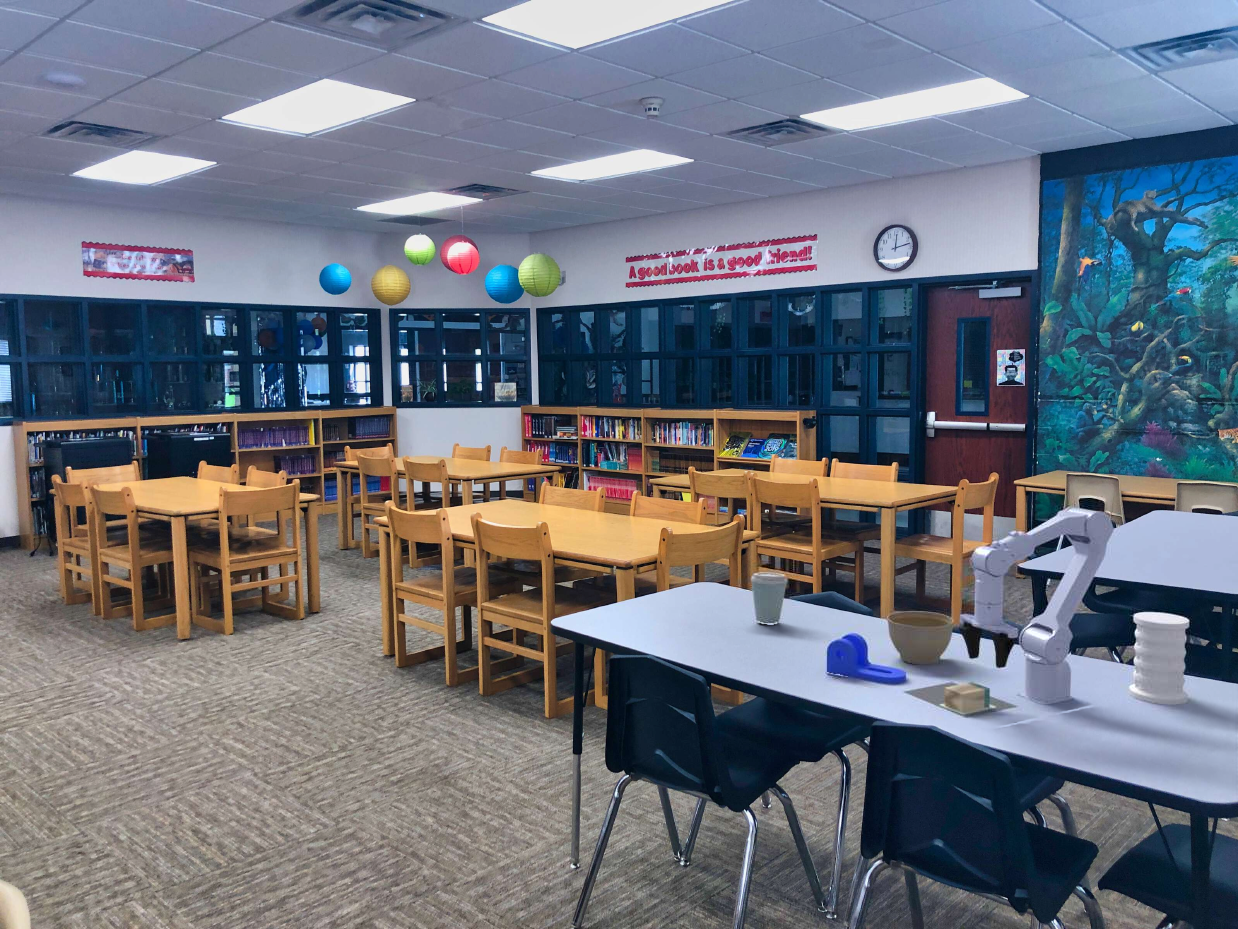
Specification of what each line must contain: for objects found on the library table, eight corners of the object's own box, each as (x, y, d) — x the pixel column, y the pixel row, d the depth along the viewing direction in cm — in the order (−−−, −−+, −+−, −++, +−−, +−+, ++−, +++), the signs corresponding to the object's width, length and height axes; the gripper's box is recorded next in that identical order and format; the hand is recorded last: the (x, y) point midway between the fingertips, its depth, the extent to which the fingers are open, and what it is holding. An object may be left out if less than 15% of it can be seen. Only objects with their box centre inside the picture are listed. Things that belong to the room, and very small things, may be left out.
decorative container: (1184, 692, 219) (1187, 614, 218) (1191, 707, 209) (1194, 626, 207) (1127, 685, 224) (1129, 609, 223) (1130, 701, 214) (1133, 621, 212)
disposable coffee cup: (750, 618, 290) (750, 569, 289) (786, 619, 289) (787, 569, 287) (750, 627, 280) (750, 576, 278) (788, 628, 278) (788, 577, 277)
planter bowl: (884, 650, 255) (885, 609, 254) (948, 653, 252) (949, 612, 251) (888, 667, 240) (889, 625, 239) (956, 671, 236) (957, 627, 235)
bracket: (826, 674, 235) (826, 638, 235) (841, 666, 242) (841, 631, 241) (897, 688, 224) (898, 650, 223) (911, 679, 231) (911, 642, 230)
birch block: (944, 705, 210) (944, 687, 210) (971, 699, 214) (972, 682, 213) (961, 712, 206) (962, 694, 205) (989, 706, 209) (989, 688, 209)
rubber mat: (951, 683, 227) (951, 681, 227) (1017, 708, 210) (1017, 705, 210) (903, 693, 220) (903, 691, 220) (966, 719, 203) (966, 717, 203)
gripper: (950, 597, 215) (948, 656, 216) (1001, 610, 202) (1000, 674, 203) (973, 593, 218) (971, 652, 219) (1025, 607, 205) (1024, 669, 206)
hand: (987, 662), depth 212 cm, fingers open, 7 cm apart
